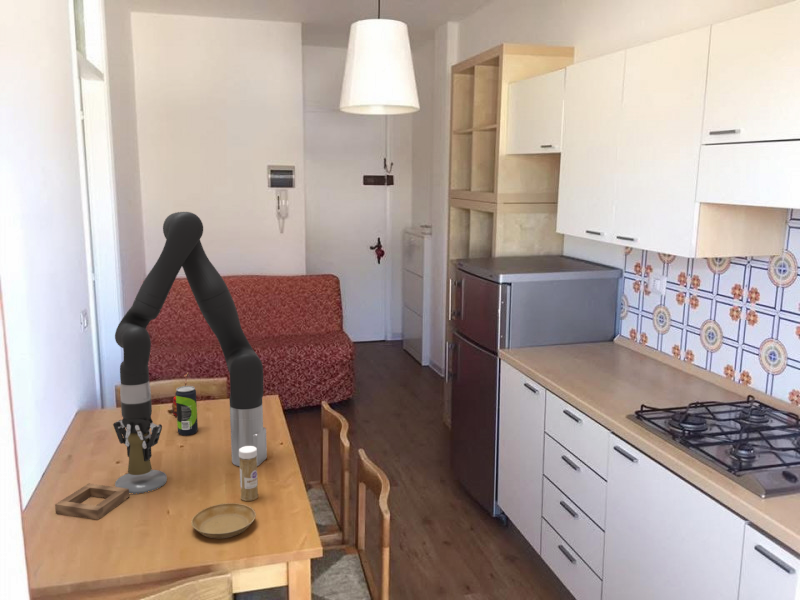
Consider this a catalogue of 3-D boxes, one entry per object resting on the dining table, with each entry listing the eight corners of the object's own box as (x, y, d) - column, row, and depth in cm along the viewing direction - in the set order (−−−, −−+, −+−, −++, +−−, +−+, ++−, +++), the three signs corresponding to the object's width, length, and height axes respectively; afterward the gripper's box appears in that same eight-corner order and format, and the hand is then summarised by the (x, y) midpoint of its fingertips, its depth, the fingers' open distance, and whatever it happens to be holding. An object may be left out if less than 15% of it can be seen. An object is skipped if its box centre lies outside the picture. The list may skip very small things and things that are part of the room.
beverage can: (202, 431, 219) (199, 387, 216) (186, 437, 213) (184, 392, 211) (189, 428, 222) (186, 384, 219) (173, 433, 217) (171, 389, 214)
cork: (143, 476, 177) (141, 436, 175) (123, 473, 178) (120, 434, 176) (156, 466, 183) (154, 428, 181) (136, 464, 184) (134, 426, 182)
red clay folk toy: (169, 413, 235) (167, 372, 232) (188, 409, 240) (186, 369, 237) (178, 419, 229) (175, 377, 227) (197, 415, 234) (195, 373, 231)
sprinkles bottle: (252, 502, 171) (251, 453, 168) (237, 500, 172) (235, 450, 170) (261, 494, 175) (260, 446, 173) (246, 492, 176) (244, 444, 174)
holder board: (129, 497, 173) (128, 488, 173) (97, 519, 162) (97, 510, 161) (89, 491, 176) (88, 483, 176) (55, 513, 165) (55, 504, 164)
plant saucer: (178, 537, 155) (177, 526, 154) (216, 508, 168) (216, 498, 168) (232, 549, 150) (232, 538, 149) (267, 518, 163) (267, 508, 163)
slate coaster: (176, 475, 186) (176, 472, 186) (147, 496, 174) (147, 493, 173) (135, 470, 189) (135, 467, 189) (104, 490, 177) (104, 487, 176)
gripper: (167, 396, 179) (170, 456, 182) (121, 391, 183) (125, 451, 186) (150, 405, 172) (154, 468, 175) (103, 400, 175) (107, 461, 178)
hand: (139, 459), depth 180 cm, fingers closed on cork, 3 cm apart
